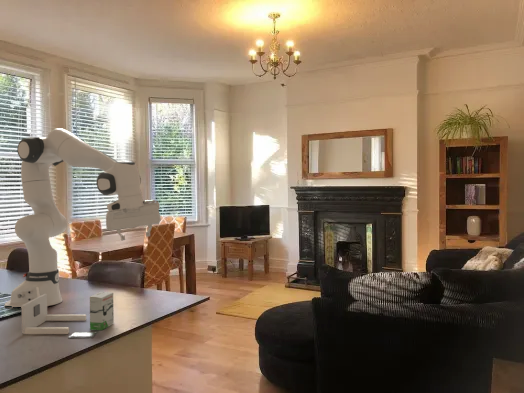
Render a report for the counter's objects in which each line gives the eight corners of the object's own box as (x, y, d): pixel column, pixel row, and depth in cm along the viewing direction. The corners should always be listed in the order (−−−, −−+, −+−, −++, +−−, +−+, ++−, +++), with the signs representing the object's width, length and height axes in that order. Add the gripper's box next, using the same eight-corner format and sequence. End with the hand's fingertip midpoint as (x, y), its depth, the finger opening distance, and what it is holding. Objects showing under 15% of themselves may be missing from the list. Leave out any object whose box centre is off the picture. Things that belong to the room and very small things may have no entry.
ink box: (101, 330, 162) (101, 297, 161) (89, 330, 163) (88, 297, 162) (114, 323, 170) (113, 291, 170) (102, 322, 171) (101, 291, 171)
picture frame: (68, 339, 155) (68, 336, 155) (73, 335, 159) (73, 332, 159) (92, 339, 154) (92, 336, 154) (96, 335, 159) (96, 332, 159)
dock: (22, 334, 159) (21, 305, 159) (44, 319, 175) (44, 293, 175) (68, 333, 159) (67, 305, 158) (86, 319, 175) (85, 293, 174)
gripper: (157, 198, 182) (161, 232, 183) (103, 205, 174) (108, 241, 176) (159, 199, 176) (164, 234, 177) (103, 207, 169) (108, 243, 170)
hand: (135, 238), depth 176 cm, fingers open, 8 cm apart
